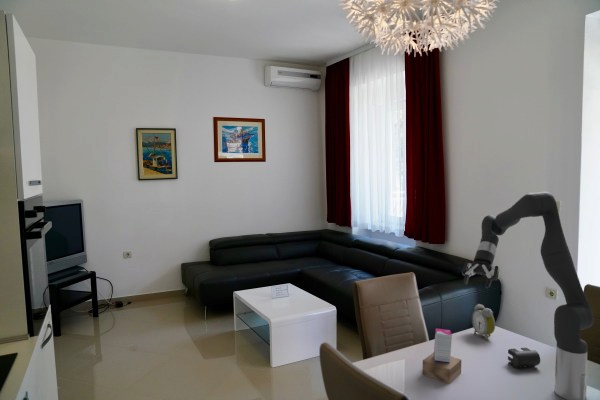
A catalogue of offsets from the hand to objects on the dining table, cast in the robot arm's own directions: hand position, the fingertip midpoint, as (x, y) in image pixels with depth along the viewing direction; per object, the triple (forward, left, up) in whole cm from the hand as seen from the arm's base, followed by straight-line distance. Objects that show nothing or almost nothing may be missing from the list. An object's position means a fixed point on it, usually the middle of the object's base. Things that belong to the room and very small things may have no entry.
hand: (475, 285), depth 171 cm
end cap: (-17, -9, -33) cm, 38 cm away
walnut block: (+6, +20, -33) cm, 39 cm away
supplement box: (+6, +20, -27) cm, 34 cm away
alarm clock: (+5, -29, -33) cm, 44 cm away
